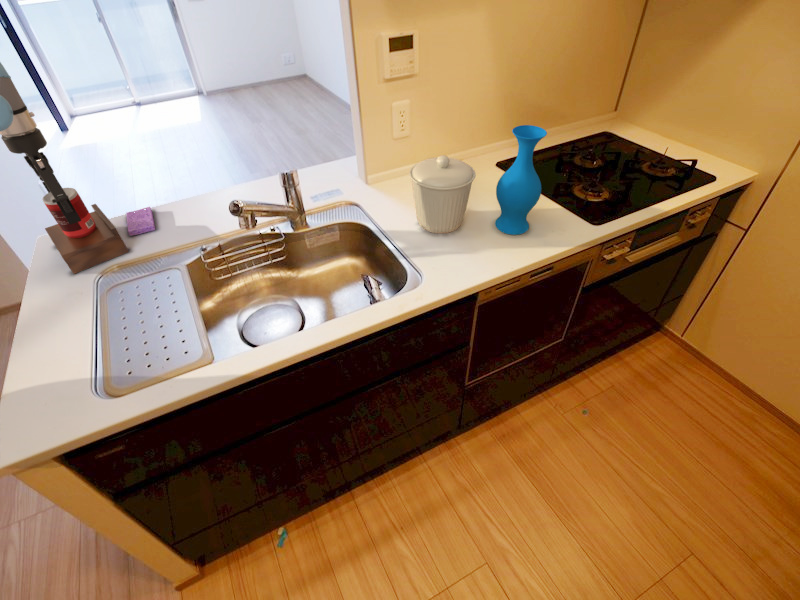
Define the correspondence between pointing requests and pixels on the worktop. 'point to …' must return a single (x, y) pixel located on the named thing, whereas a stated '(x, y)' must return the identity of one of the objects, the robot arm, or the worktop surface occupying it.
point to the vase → (519, 183)
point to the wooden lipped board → (89, 243)
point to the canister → (441, 192)
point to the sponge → (140, 221)
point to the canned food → (87, 221)
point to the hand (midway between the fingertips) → (68, 212)
